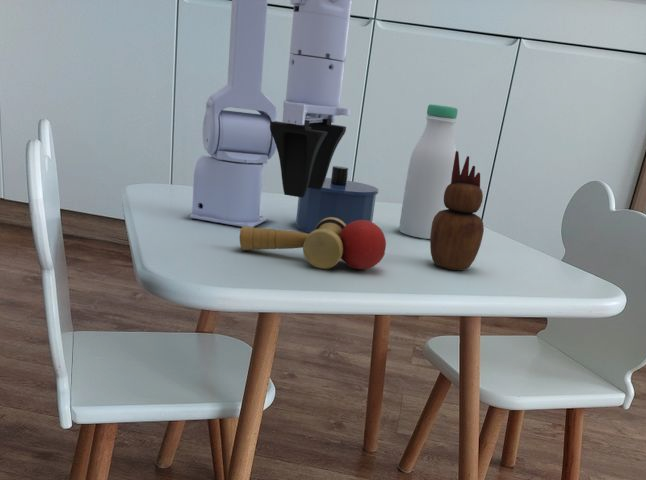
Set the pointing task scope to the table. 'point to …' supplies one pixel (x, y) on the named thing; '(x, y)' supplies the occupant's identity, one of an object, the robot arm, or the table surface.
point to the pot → (332, 208)
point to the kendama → (324, 242)
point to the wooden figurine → (458, 221)
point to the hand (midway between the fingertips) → (303, 191)
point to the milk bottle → (429, 172)
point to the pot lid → (346, 184)
